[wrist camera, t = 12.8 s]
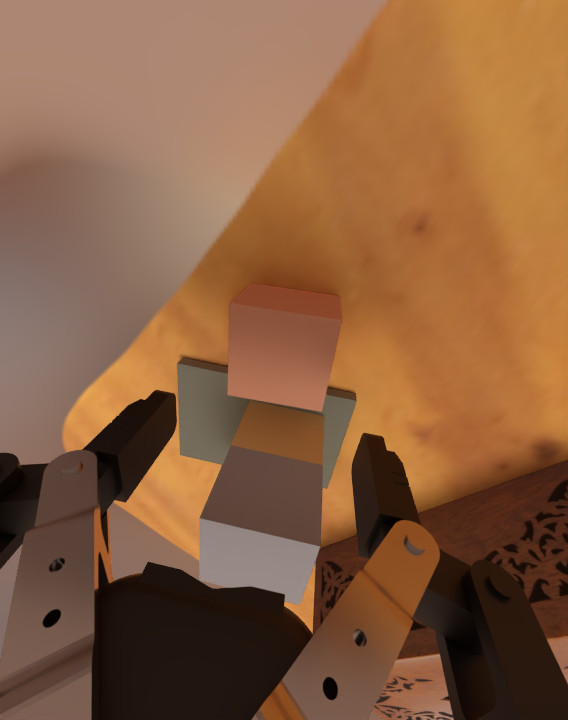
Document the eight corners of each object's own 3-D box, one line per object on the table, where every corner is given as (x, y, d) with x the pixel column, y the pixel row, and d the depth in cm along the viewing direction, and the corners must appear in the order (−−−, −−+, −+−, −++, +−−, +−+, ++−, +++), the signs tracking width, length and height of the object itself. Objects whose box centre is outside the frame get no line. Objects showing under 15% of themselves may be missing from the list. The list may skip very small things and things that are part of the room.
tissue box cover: (388, 608, 36) (407, 734, 28) (316, 547, 33) (311, 671, 24) (640, 552, 26) (798, 727, 17) (576, 453, 22) (735, 612, 13)
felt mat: (183, 357, 23) (177, 363, 22) (355, 393, 22) (356, 400, 21) (185, 447, 28) (180, 455, 27) (327, 479, 27) (327, 488, 26)
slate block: (230, 445, 18) (199, 518, 14) (323, 465, 18) (320, 546, 14) (226, 504, 21) (199, 580, 17) (306, 522, 21) (299, 605, 17)
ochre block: (250, 400, 23) (230, 445, 18) (324, 415, 23) (322, 465, 18) (243, 453, 26) (225, 503, 21) (309, 468, 25) (305, 522, 21)
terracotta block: (252, 282, 20) (229, 302, 15) (339, 295, 19) (342, 320, 15) (247, 359, 23) (227, 395, 18) (323, 371, 22) (321, 411, 18)
